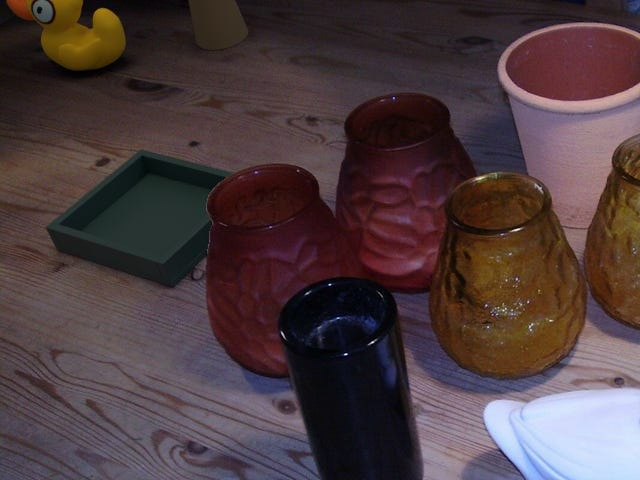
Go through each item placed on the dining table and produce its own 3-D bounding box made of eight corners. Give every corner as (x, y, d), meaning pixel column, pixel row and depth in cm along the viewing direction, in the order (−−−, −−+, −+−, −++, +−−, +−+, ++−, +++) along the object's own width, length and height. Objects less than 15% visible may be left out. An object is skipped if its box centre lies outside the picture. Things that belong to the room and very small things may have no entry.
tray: (56, 250, 89) (45, 227, 87) (150, 171, 96) (140, 148, 94) (173, 287, 84) (162, 263, 82) (262, 201, 91) (254, 177, 89)
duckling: (29, 82, 111) (-11, -4, 104) (47, 57, 115) (9, -27, 108) (126, 76, 110) (92, -11, 103) (141, 52, 114) (109, -34, 107)
